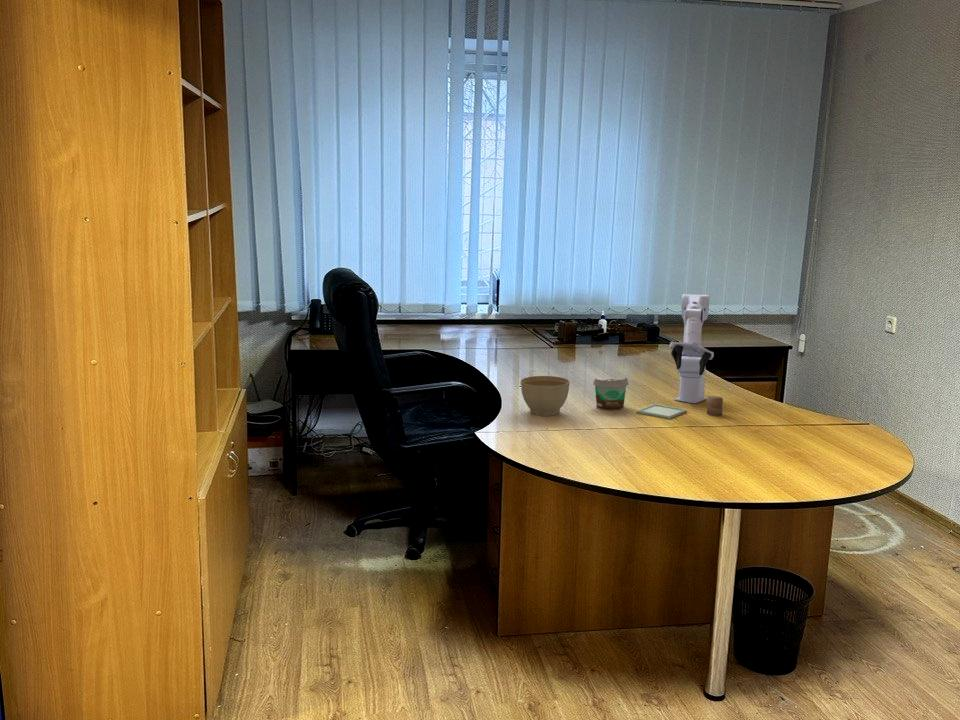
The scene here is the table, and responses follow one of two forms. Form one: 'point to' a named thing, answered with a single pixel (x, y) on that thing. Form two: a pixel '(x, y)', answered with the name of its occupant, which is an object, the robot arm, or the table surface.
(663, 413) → the coaster
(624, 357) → the table surface
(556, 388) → the planter bowl
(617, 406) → the food container
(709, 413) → the walnut cylinder
